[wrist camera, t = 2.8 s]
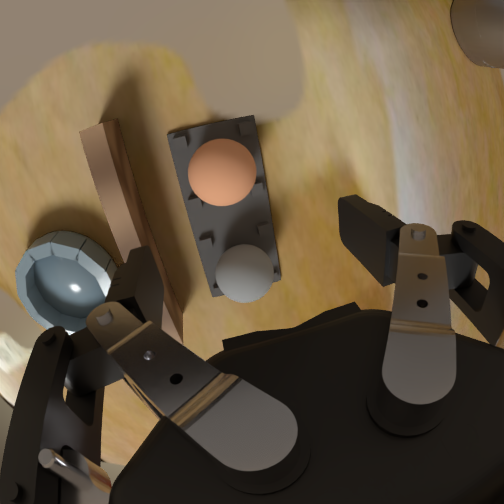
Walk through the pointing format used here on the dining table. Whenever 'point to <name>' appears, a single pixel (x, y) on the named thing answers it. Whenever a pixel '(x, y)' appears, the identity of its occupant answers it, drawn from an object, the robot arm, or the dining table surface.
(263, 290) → the grey ball
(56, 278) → the dish
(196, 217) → the tray
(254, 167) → the ball
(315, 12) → the dining table surface
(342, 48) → the dining table surface
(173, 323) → the rail
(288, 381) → the robot arm
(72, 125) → the dining table surface
